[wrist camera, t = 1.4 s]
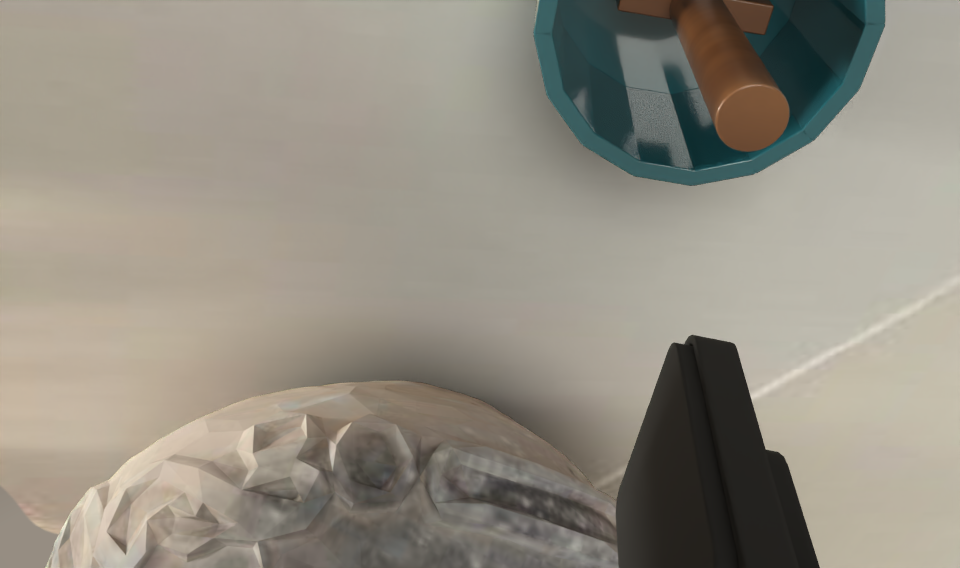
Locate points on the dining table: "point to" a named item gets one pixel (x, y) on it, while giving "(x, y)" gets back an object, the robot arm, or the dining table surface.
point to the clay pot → (345, 490)
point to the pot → (673, 88)
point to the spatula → (726, 65)
